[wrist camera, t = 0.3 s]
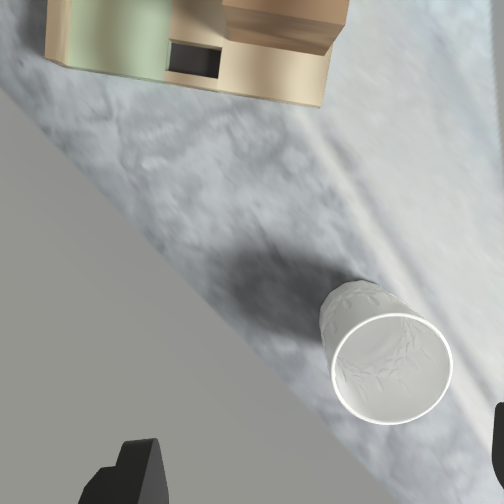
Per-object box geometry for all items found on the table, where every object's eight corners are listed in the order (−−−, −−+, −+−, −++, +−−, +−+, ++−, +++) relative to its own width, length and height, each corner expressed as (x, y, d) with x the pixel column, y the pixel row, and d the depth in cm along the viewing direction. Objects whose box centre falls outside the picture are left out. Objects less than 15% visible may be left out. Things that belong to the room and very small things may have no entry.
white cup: (300, 346, 40) (315, 408, 30) (328, 262, 38) (353, 298, 28) (385, 369, 40) (427, 438, 30) (416, 287, 38) (471, 331, 29)
